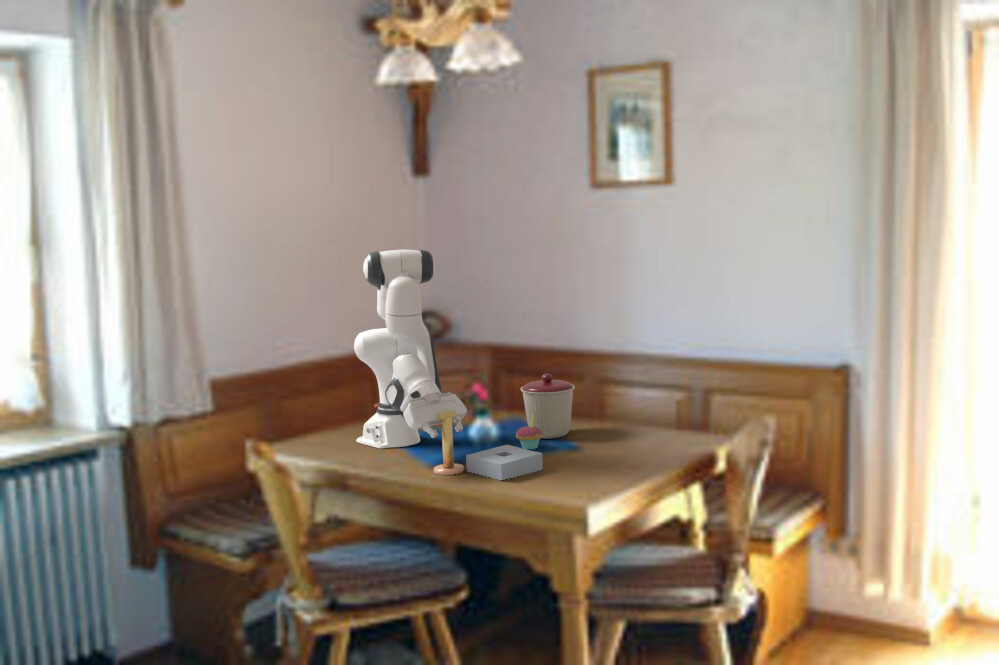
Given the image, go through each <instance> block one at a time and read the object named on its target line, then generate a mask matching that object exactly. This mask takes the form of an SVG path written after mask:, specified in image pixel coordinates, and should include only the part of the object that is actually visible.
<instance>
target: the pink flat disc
mask: <svg viewBox="0 0 999 665" xmlns="http://www.w3.org/2000/svg"><path fill="white" fill-rule="evenodd" d="M463 471H464V472H465V466H464V464H461V463H455V462H454V468H450V469H445V468H443V463H442V464H438V465H436V466H434V467H433V473H434V474H435V475H437V474H439V475H438V476H445V475H446V476H455V475H454V474H456V475H459V474H458V473H460V474H462V473H464V472H463ZM461 472H462V473H461Z"/></svg>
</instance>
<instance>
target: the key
mask: <svg viewBox="0 0 999 665" xmlns="http://www.w3.org/2000/svg"><path fill="white" fill-rule="evenodd" d="M454 416H456V411H455V410H450V411H445V412H440V413H437V419H441V424H440V425H441V440H442V441H441V443H442V445H441V446H442V447H441V448H442V462H443V463H442V464H443V468H445V469H450V468H454V463H455V458H454V457H455V456H454V438H453V437H454V436H453V435H454V434H453V421H452V417H454Z"/></svg>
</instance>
